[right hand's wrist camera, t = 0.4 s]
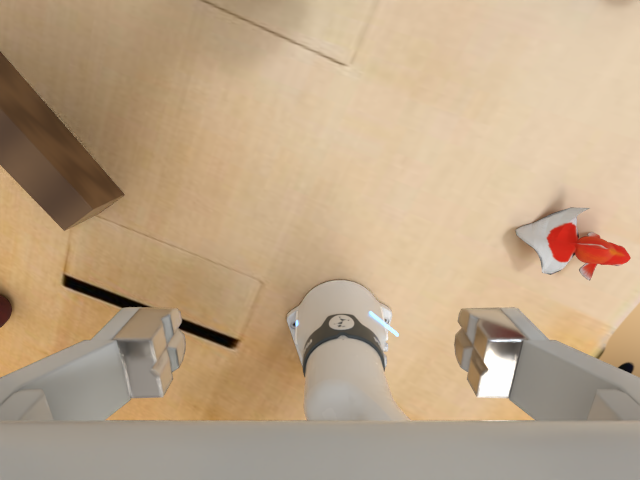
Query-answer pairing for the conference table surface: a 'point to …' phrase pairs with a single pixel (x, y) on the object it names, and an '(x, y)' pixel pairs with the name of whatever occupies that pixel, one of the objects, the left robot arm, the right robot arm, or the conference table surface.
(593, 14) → the conference table surface
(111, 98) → the conference table surface
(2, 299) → the plum
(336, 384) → the right robot arm
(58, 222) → the bar
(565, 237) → the fish
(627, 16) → the conference table surface
